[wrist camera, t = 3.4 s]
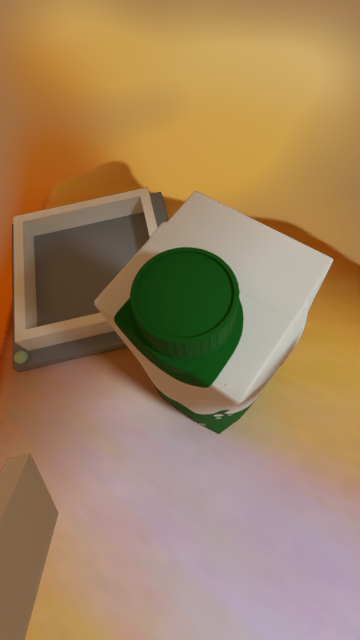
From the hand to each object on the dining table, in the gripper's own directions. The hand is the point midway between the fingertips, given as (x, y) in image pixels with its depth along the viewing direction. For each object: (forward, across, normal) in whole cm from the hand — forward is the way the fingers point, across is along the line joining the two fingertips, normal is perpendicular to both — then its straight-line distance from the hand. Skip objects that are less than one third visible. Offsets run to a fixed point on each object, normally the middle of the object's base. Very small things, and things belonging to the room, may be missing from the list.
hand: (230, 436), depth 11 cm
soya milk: (+18, +1, -8) cm, 20 cm away
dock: (+28, -8, +2) cm, 29 cm away
